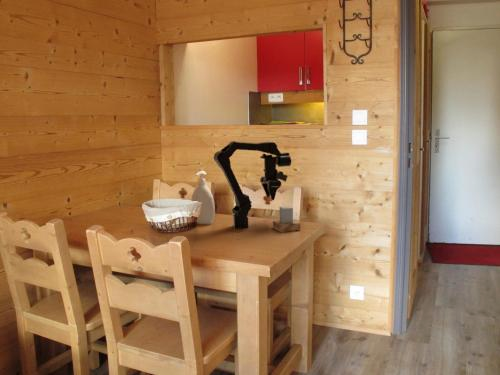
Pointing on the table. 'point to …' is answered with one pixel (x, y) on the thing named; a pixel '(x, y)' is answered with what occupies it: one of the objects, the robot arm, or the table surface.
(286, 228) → the walnut block
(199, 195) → the soap bottle
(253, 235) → the table surface
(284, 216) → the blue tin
